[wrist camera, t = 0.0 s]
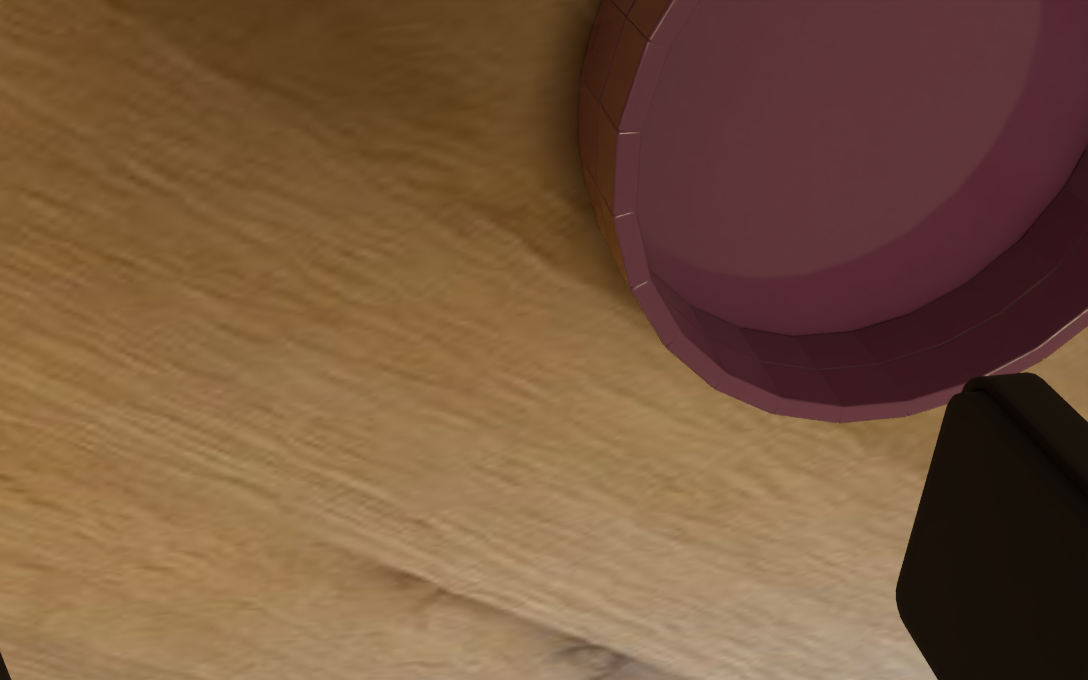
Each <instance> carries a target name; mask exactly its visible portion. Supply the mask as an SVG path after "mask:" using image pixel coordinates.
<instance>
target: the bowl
mask: <svg viewBox="0 0 1088 680" xmlns="http://www.w3.org/2000/svg"><path fill="white" fill-rule="evenodd" d="M578 133H579V151H580V157H581V163H582V168H583V174H584V180H585V184H586V187H587V190H588V193H589V197H590V200H591V203H592V206H593V209H594V212H595V216H596V220H597V223H598V226H599V228H600V230H601V232H602V234H603V236H604V238H605V240H606V242H607V244H608V246H609V248H610V250H611V252H612V254H613V256H614V258H615V260H616V262H617V264H618V266H619V268H620V270H621V272H622V274H623V276H624V278H625V281H626V283H627V285H628V287H629V289H630V291H631V292H632V294H633V296H634V297H635V299H636V300H637V302H638V304H639V305H640V307H641V309H642V310H643V312H644V314H645V315H646V317H647V319H648V320H649V322H650V324H651V325H652V327H653V329H654V330H655V332H656V334H657V335H658V337H659V339H660V340H661V342H662V344H663V345H665V347H666V348H667V349H668V350H669V351H670V352H671V353H673V354H674V355H675V356H676V357H677V358H678V359H679V360H681V361H682V362H683V363H684V364H685V365H686V366H688V367H689V368H690V369H691V370H692V371H693V372H695V373H696V374H697V375H698V376H699V377H700V378H702V379H703V380H704V381H705V382H706V383H707V384H709V385H710V386H711V387H713V388H714V389H715V390H717V391H719V392H722V393H724V394H726V395H729V396H731V397H733V398H736V399H738V400H740V401H743V402H745V403H747V404H750V405H752V406H754V407H757V408H759V409H761V410H763V411H766V412H768V413H770V414H775V415H782V416H789V417H796V418H803V419H811V420H818V421H825V422H832V423H837V422H838V423H848V422H859V421H869V420H880V419H890V418H900V417H906V416H911V415H914V414H917V413H921V412H924V411H927V410H930V409H934V408H937V407H940V406H943V405H946V404H948V402H949V400H950V399H951V398H952V397H953V395H955V394H958V393H961V392H962V389H963V387H964V385H965V384H966V383H967V382H968V381H969V380H970V379H972V378H975V377H980V376H991V375H1003V374H1014V373H1020V372H1022V371H1024V370H1025V369H1027V368H1029V367H1031V366H1033V365H1035V364H1037V363H1039V362H1041V361H1042V360H1043V358H1044V359H1045V358H1047V357H1048V356H1050V355H1051V354H1052V353H1053V352H1055V351H1056V350H1057V349H1059V348H1060V347H1061V346H1063V345H1064V344H1065V343H1066V342H1068V341H1069V340H1070V339H1072V338H1073V337H1074V336H1076V335H1077V334H1078V333H1079V332H1081V331H1082V330H1083V329H1085V328H1086V327H1087V326H1088V0H603V1H602V3H601V6H600V9H599V12H598V14H597V17H596V20H595V23H594V25H593V28H592V31H591V34H590V38H589V43H588V47H587V51H586V56H585V60H584V65H583V69H582V74H581V84H580V94H579V104H578Z"/></svg>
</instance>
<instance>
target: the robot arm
mask: <svg viewBox="0 0 1088 680" xmlns="http://www.w3.org/2000/svg"><path fill="white" fill-rule="evenodd" d="M896 602H897V607H898V611H899V614H900V617H901V619H902V621H903V623H904V625H905V627H906V628H907V630H908V632H909V633H910V635H911V637H912V638H913V640H914V641H915V643H916V645H917V646H918V648H919V650H920V651H921V653H922V654H923V656H924V658H925V659H926V661H927V663H928V664H929V666H930V668H931V669H932V671H933V672H934V674H935V676H936V677H937V679H938V680H1088V422H1087V421H1086V420H1085V419H1084V418H1083V417H1082V416H1081V415H1080V414H1079V413H1078V412H1076V411H1075V410H1074V409H1073V408H1072V407H1071V406H1070V405H1069V404H1068V403H1067V402H1066V401H1065V400H1064V399H1063V398H1062V397H1061V396H1060V395H1059V394H1058V393H1057V392H1056V391H1055V390H1054V389H1053V388H1051V387H1050V386H1049V385H1048V384H1047V383H1046V382H1045V381H1044V380H1043V379H1042V378H1040V377H1039V376H1037V375H1036V374H1033V373H1027V372H1025V373H1014V374H1003V375H991V376H980V377H975V378H972V379H970V380H969V381H968V382H967V383H966V384H965V385H964V387H963V389H962V392H961V393H958V394H955V395H953V397H952V398H951V399H950V400H949V402H948V405H947V407H946V411H945V415H944V418H943V422H942V425H941V429H940V432H939V436H938V440H937V443H936V447H935V450H934V454H933V457H932V461H931V464H930V468H929V472H928V475H927V479H926V482H925V486H924V489H923V493H922V496H921V500H920V504H919V507H918V511H917V514H916V518H915V521H914V525H913V529H912V532H911V536H910V539H909V543H908V546H907V550H906V553H905V557H904V561H903V564H902V568H901V571H900V575H899V578H898V582H897V587H896ZM0 680H11V678H10V675H9V673H8V670H7V668H6V665H5V663H4V660H3V658H2V655H1V653H0Z"/></svg>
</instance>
